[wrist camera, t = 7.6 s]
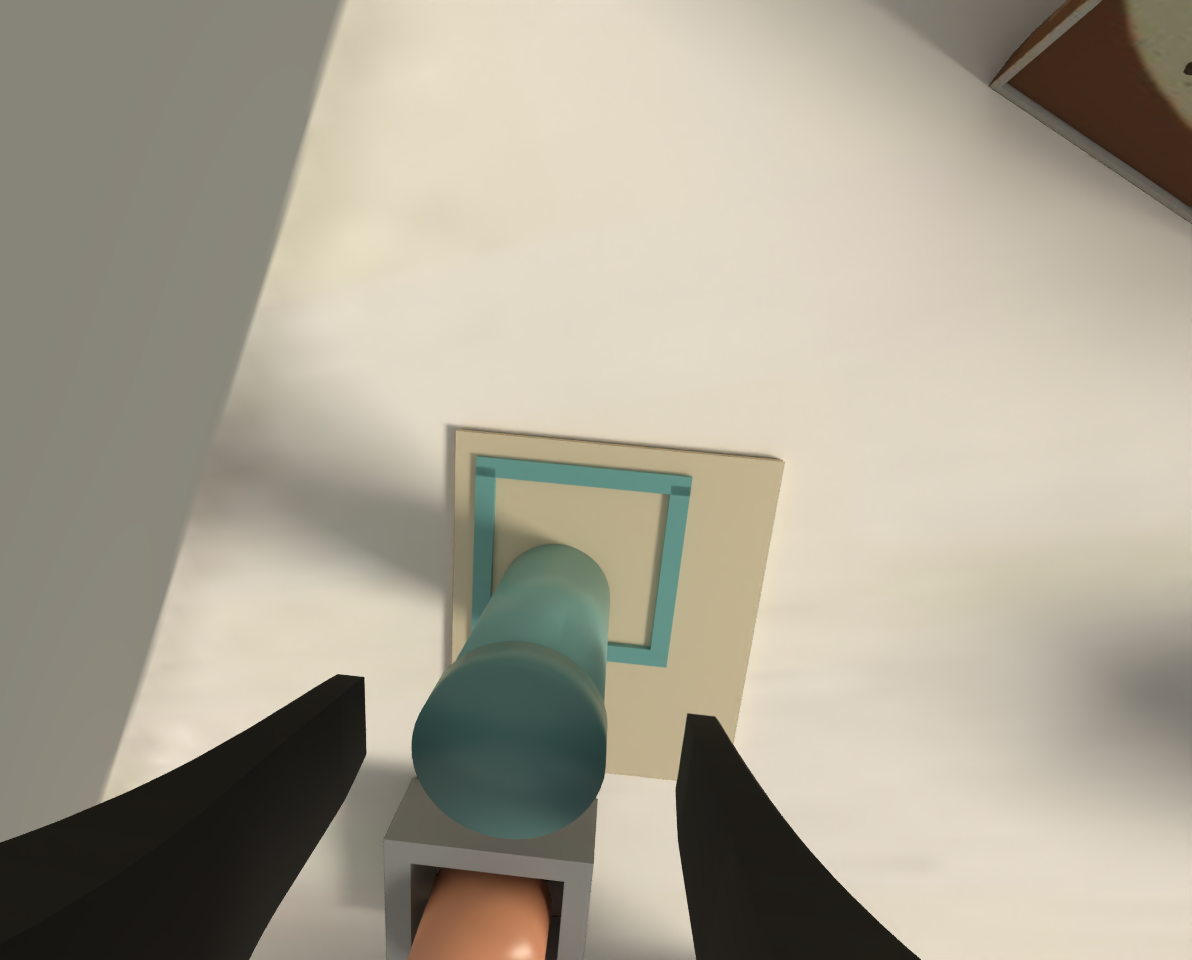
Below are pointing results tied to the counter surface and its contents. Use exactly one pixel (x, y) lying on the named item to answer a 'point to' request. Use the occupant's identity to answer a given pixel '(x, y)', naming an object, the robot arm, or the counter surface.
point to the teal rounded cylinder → (523, 703)
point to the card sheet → (630, 568)
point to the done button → (484, 918)
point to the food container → (1115, 88)
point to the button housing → (482, 869)
